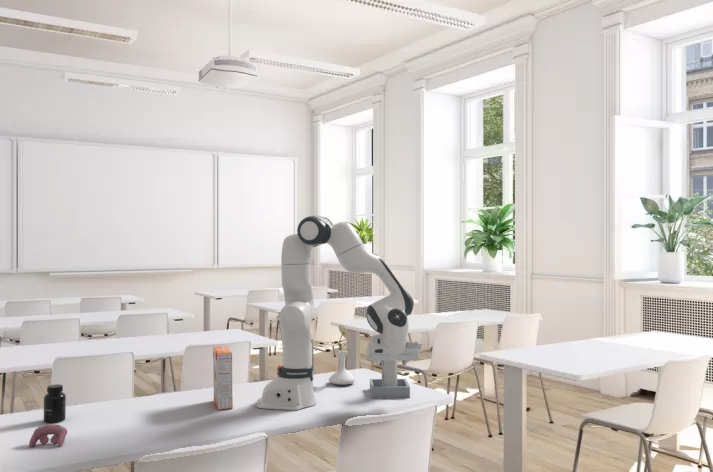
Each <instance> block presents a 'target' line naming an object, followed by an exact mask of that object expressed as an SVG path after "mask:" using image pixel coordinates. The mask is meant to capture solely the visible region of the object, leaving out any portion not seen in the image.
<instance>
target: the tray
mask: <svg viewBox="0 0 713 472" xmlns="http://www.w3.org/2000/svg"><path fill="white" fill-rule="evenodd" d="M369 392H370V396H371V398H372V399H381V398H382V399H385V398H386V399H391V398H392V399H393V398H394V399H404V398H411V386H410V384H409V382H408V380H407V378H397V387H382V378H370V379H369Z"/></svg>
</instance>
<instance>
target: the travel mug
mask: <svg viewBox="0 0 713 472" xmlns="http://www.w3.org/2000/svg"><path fill="white" fill-rule="evenodd" d="M381 379H382V387H397V379H398V360H387V361H382V365H381Z"/></svg>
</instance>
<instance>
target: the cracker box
mask: <svg viewBox="0 0 713 472" xmlns="http://www.w3.org/2000/svg"><path fill="white" fill-rule="evenodd" d="M212 359H213V361H212V363H213V365H212V366H213V369H212V370H213V371H212V372H213V402H214V404H215V406H216V407H215V408H216V409H217V411H220V410H221V411H224V410H231V409H234V408H233V407H234V406H233V405H234V404H233V353H232V351H231V349H230V348H229V347H228V346H227V345H224V346H213V348H212Z"/></svg>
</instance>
